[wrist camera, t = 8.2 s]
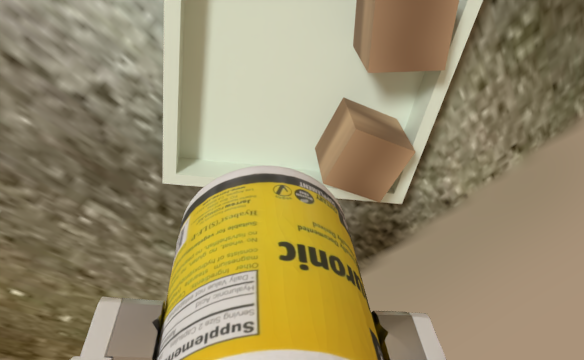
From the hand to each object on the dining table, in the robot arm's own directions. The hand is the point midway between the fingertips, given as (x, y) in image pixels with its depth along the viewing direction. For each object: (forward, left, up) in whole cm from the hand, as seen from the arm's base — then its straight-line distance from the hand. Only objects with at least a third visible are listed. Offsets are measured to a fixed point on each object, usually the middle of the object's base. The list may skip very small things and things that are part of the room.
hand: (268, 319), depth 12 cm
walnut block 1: (+7, +4, -18) cm, 20 cm away
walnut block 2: (+7, -4, -18) cm, 19 cm away
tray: (+3, 0, -18) cm, 19 cm away
